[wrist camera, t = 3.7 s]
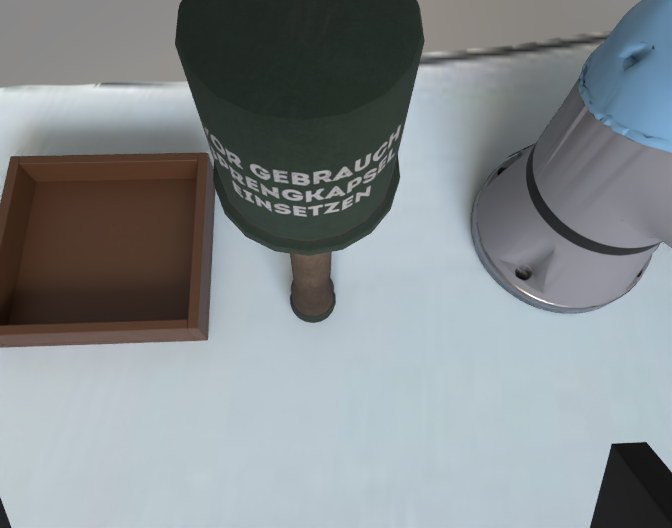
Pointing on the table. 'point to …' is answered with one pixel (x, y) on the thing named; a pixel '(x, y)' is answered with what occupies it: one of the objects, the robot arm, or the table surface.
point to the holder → (106, 249)
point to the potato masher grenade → (303, 120)
